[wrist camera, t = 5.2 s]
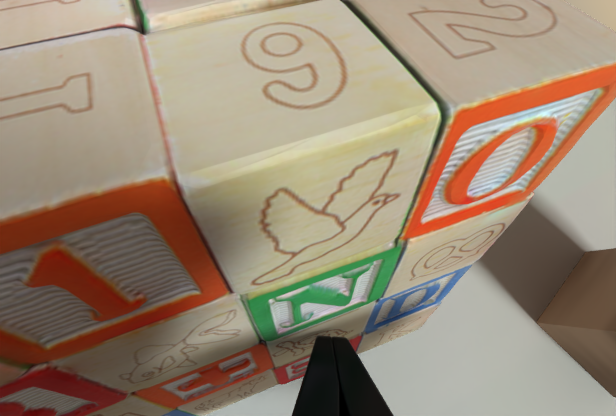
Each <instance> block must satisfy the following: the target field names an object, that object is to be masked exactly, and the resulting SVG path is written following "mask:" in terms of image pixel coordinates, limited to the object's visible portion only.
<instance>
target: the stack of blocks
mask: <svg viewBox="0 0 616 416" xmlns="http://www.w3.org/2000/svg"><path fill="white" fill-rule="evenodd" d="M615 97H616V32H615V31H614V30H612V29H610V28H609V27H607V26H605V25H604V24H602V23H600V22H599V21H597V20H596V19H594V18H592V17H591V16H589V15H587V14H586V13H584V12H582V11H581V10H579V9H578V8H576V7H574V6H573V5H571V4H569V3H568V2H566V1H565V0H0V416H202V415H206V414H209V413H211V412H213V411H216V410H218V409H221V408H223V407H225V406H228V405H230V404H233V403H235V402H237V401H240V400H242V399H245V398H247V397H249V396H252V395H254V394H256V393H259V392H261V391H263V390H266V389H268V388H270V387H273V386H275V385H277V384H286V383H288V382H290V381H293V380H296V379H298V378H301V377H303V376H304V375H305V372H306V368H307V365H308V362H309V359H310V355H311V352H312V349H313V346H314V343H315V339H316V337H317V336H318V335H322V336H331V337H333V336H336V337H346V338H347V339H348V340H349V341H350V343H351V345H352V347H353V348H354V350H355V352H356V353H357V354H359V353H362V352H364V351H367V350H369V349H372V348H374V347H377V346H379V345H382V344H384V343H386V342H389V341H391V340H394V339H396V338H398V337H401V336H403V335H406V334H408V333H410V332H413V331H415V330H418V329H419V328H420V327H422V325H423V324H424V323H425V322H426V320H427V319H428V317H429V316H430V315H431V314H432V313H433V312H434V311H435V310H436V309H437V308H438V307H439V305H440V304H441V300H442V299H443V298H444V297H445V296H446V295H447V294H448V293H449V291H450V290H451V289H452V287H453V286H454V285H455V284H456V282H457V281H458V280H459V279H460V278H461V277H462V276H463V275H464V274H465V272H466V271H467V270H468V269H469V268H470V267H471V266H472V264H473V263H474V262H475V261H477V260H479V259H480V258H481V257H482V256H483V255H484V253H485V252H486V251H487V250H488V248H489V247H490V246H492V245H493V244H494V242H495V241H496V240H497V239H498V238H499V237H500V236H501V234H502V233H503V232H504V231H505V230H506V229H507V228H508V226H509V225H510V224H511V223H512V222H513V221H514V219H515V218H516V217H517V216H518V214H519V213H520V212H521V211H522V209H523V208H524V207H525V206H526V205H527V203H528V202H529V201H530V200H531V198H532V197H533V195H534V192H533V190H534V189H536V188H537V187H538V186H539V185H540V184H541V183H542V181H543V180H544V179H545V178H546V177H547V176H548V175H549V174H550V173H551V171H552V170H553V169H554V168H555V167H556V166H557V165H558V164H559V162H560V161H561V160H562V159H563V158H564V157H565V156H566V154H567V153H568V152H569V151H570V150H571V149H572V148H573V146H574V145H575V144H576V142H577V141H578V140H579V139H580V137H581V136H582V135H583V134H584V132H585V131H586V130H587V129H588V128H589V127H590V126H591V125H592V123H593V122H594V121H595V120H596V119H597V118H598V117H599V116H600V115H601V113H602V112H603V111H604V110H605V109H606V108H607V107H608V106H609V105H610V103H611V102H612V101H613V100H614V99H615Z"/></svg>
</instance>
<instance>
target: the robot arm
mask: <svg viewBox="0 0 616 416" xmlns="http://www.w3.org/2000/svg"><path fill="white" fill-rule="evenodd" d="M292 416H393V414H392V412H391V411H390V409H389V407H388V406H387V404H386V402H385V400H384V399H383V397H382V395H381V394H380V392H379V390H378V389H377V387H376V385H375V384H374V382H373V380H372V379H371V377H370V375H369V373H368V372H367V370H366V368H365V367H364V365H363V363H362V362H361V360H360V358H359V357H358V355H357V353H356V352H355V350H354V348H353V347H352V345H351V343H350V341H349V340H348V339H347V338H346V337H336V336H333V337H331V336H322V335H318V336H317V337H316V339H315V343H314V346H313V349H312V352H311V355H310V359H309V362H308V365H307V368H306V372H305V375H304V378H303V381H302V384H301V388H300V391H299V394H298V397H297V400H296V404H295V407H294V410H293V413H292Z"/></svg>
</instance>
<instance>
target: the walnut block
mask: <svg viewBox="0 0 616 416" xmlns="http://www.w3.org/2000/svg"><path fill="white" fill-rule="evenodd" d="M536 323H537V324H538V325H539V326H540V327H541V328H542V329H543V330H544V331H545V332H546V333H547V334H548V335H549V336H550V337H551V338H552V339H554V340H555V341H556V342H557V343H558V344H559V345H560V346H561V347H562V348H563V349H564V350H565V351H566V352H567V353H568V354H569V355H570V356H571V357H572V358H573V359H574V360H576V361H577V362H578V363H579V364H580V365H581V366H582V367H583V368H584V369H585V370H586V371H587V372H588V373H589V374H590V375H591V376H592V377H593V378H594V379H595V380H596V381H598V382H599V383H600V384H601V385H602V386H603V387H604V388H605V389H606V390H607V391H608V392H609V393H610V394H611V395H612V396H613V397H616V248H614V249H606V250H598V251H590V252H585V254H584V255H583V256H582V258H581V259H580V261H579V262H578V264H577V265H576V266H575V268H574V269H573V271H572V272H571V274H570V275H569V276H568V278H567V279H566V281H565V282H564V283H563V285H562V286H561V288H560V289H559V291H558V292H557V293H556V295H555V296H554V298H553V299H552V301H551V302H550V303H549V305H548V306H547V308H546V309H545V311H544V312H543V313H542V315H541V316H540V318H539V319H538V321H537V322H536Z"/></svg>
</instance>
